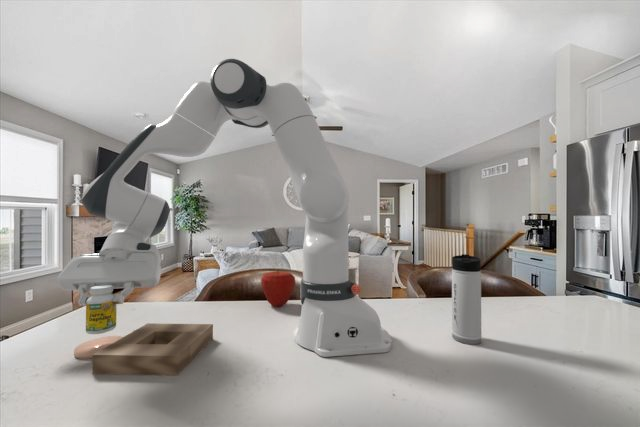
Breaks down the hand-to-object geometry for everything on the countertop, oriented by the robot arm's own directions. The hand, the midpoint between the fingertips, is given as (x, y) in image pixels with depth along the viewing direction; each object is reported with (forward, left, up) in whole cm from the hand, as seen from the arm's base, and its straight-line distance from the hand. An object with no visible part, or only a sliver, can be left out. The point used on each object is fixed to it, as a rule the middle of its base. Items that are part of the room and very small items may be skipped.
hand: (100, 303), depth 62 cm
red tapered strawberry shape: (-33, -34, -10) cm, 48 cm away
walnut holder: (-14, +1, -10) cm, 18 cm away
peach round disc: (0, -1, -10) cm, 10 cm away
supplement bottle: (0, -1, -6) cm, 6 cm away
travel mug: (-83, -9, -10) cm, 84 cm away
